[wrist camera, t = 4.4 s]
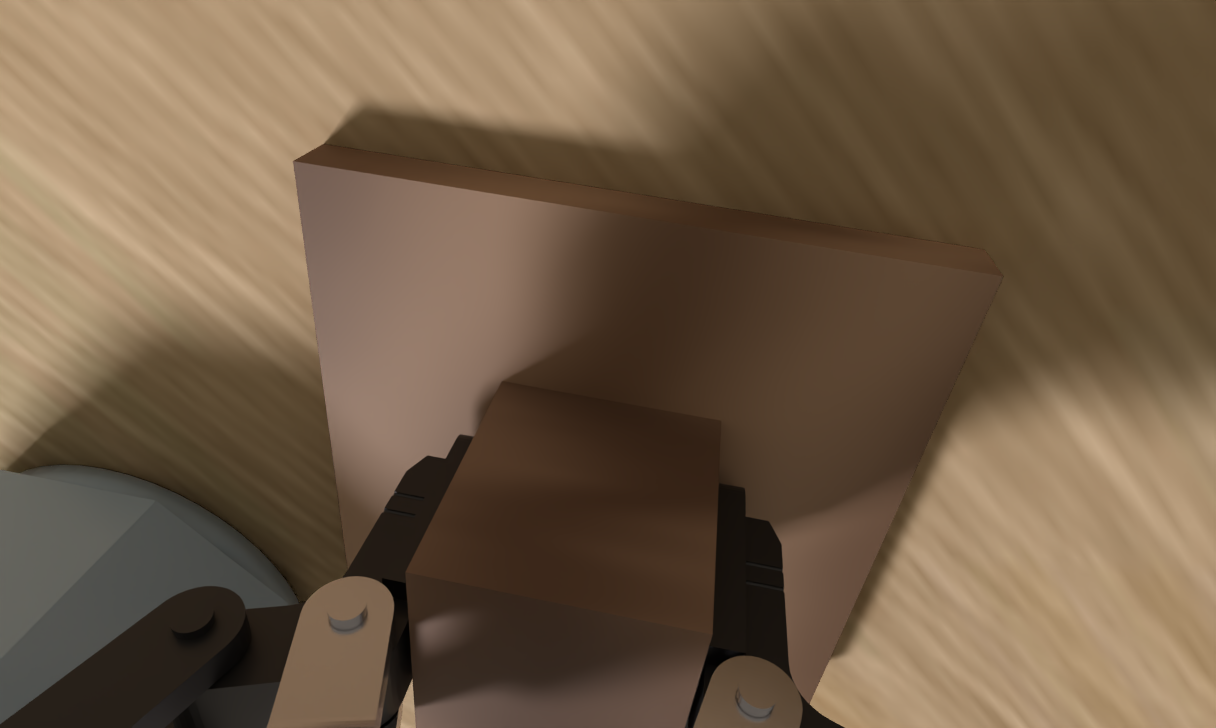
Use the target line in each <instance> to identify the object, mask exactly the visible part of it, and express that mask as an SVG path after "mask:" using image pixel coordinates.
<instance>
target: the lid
mask: <svg viewBox="0 0 1216 728" xmlns="http://www.w3.org/2000/svg"><path fill="white" fill-rule="evenodd" d="M293 164H294V171H295V179H296V186H297V194H298V201H299V209H300V216H301V224H302V231H303V239H304V246H305V254H306V261H307V269H308V276H309V284H310V291H311V299H312V306H313V314H314V321H315V329H316V336H317V344H318V351H319V359H320V366H321V374H322V381H323V389H324V396H325V404H326V411H327V419H328V426H329V434H330V441H331V449H332V456H333V464H334V471H335V478H336V486H337V493H338V501H339V508H340V516H341V523H342V531H343V538H344V546H345V553H346V561H347V568H349V567H350V565H351V563H352V562H353V560H354V558H355V557H356V555H357V553H358V552H359V550H360V548H361V547H362V545H363V543H364V542H365V540H366V538H367V536H368V535H369V533H370V531H371V530H372V528H373V526H374V525H375V523H376V521H377V520H378V518H379V516H380V515H381V513H382V512H384V508H385V506H386V504H387V503H388V501H389V499H390V498H391V496H393V495H394V491H395V489H396V488H397V486H398V484H399V483H400V481H401V479H402V478H403V476H404V474H405V473H406V471H407V470H409V469H410V468H411V467H413V466H414V465H415V464H417V463H418V462H419V461H421V460H422V459H423V458H425V457H426V456H427V455H429V456H434V457H439V458H444V459H446V457H447V455H448V453H449V451H450V449H451V448H452V446H453V444H454V442H455V440H456V438H457V437H458V436H459V435H460V434H463V435H469V436H474V437H473V439H472V441H471V443H470V445H469V447H468V449H467V451H466V453H465V455H464V457H463V459H462V461H461V463H460V465H459V467H458V469H457V471H456V473H455V475H454V477H453V479H452V481H451V483H450V485H449V487H448V489H447V491H446V493H445V495H444V497H443V499H442V501H441V503H440V505H439V507H438V509H437V511H436V513H435V515H434V517H433V519H432V521H431V522H430V524H429V526H428V528H427V530H426V532H425V534H424V536H423V538H422V540H421V542H420V544H419V546H418V548H417V550H416V552H415V554H414V556H413V558H412V560H411V562H410V564H409V566H408V568H407V570H406V572H405V574H406V589H407V603H408V618H409V633H410V647H411V662H412V676H413V691H414V705H415V720H416V728H685V725H686V722H687V718H688V715H689V712H690V708H691V705H692V702H693V698H694V695H695V692H696V688H697V685H698V682H699V678H700V675H701V672H702V668H703V665H704V662H705V658H706V655H707V651H708V648H709V645H710V641H711V638H712V635H713V611H714V587H715V562H716V538H717V513H718V489H719V483H721V484H727V485H732V486H737V487H743V488H745V495H746V517H751V518H756V519H761V520H766V521H769V522H770V524H771V526H772V527H773V529H774V531H775V533H776V535H777V537H778V538H779V540H780V542H781V544H782V559H783V571H782V573H783V575H784V593H785V608H786V624H787V641H788V657H789V668H790V673H791V676H792V679H793V681H794V683H795V685H796V687H797V689H798V691H799V692H800V694H801V695H802V696H803V698H804V699H805V700H806V701H807V702H808V703H809V704H810V701H811V699H812V697H813V695H814V693H815V690H816V688H817V686H818V684H819V682H820V679H821V677H822V675H823V673H824V671H825V668H826V666H827V664H828V662H829V660H830V657H831V655H832V653H833V651H834V649H835V646H836V644H837V642H838V640H839V638H840V635H841V633H842V631H843V629H844V627H845V624H846V622H847V620H848V618H849V615H850V613H851V611H852V609H853V607H854V604H855V602H856V600H857V598H858V596H859V593H860V591H861V589H862V587H863V585H864V582H865V580H866V578H867V576H868V574H869V571H870V569H871V567H872V565H873V563H874V560H875V558H876V556H877V554H878V552H879V549H880V547H881V545H882V543H883V541H884V538H885V536H886V534H887V532H888V530H889V527H890V525H891V523H892V521H893V519H894V516H895V514H896V512H897V510H898V508H899V505H900V503H901V501H902V499H903V497H904V494H905V492H906V490H907V488H908V486H909V483H910V481H911V479H912V477H913V474H914V472H915V470H916V468H917V466H918V463H919V461H920V459H921V457H922V455H923V452H924V450H925V448H926V446H927V444H928V441H929V439H930V437H931V435H932V433H933V430H934V428H935V426H936V424H937V422H938V419H939V417H940V415H941V413H942V411H943V408H944V406H945V404H946V402H947V400H948V397H949V395H950V393H951V391H952V389H953V386H954V384H955V382H956V380H957V378H958V375H959V373H960V371H961V369H962V367H963V364H964V362H965V360H966V358H967V356H968V353H969V351H970V349H971V347H972V345H973V342H974V340H975V338H976V336H977V334H978V331H979V329H980V327H981V325H982V322H983V320H984V318H985V316H986V314H987V311H988V309H989V307H990V305H991V303H992V300H993V298H994V296H995V294H996V292H997V289H998V287H999V285H1000V283H1001V281H1002V278H1003V275H1002V274H1001V272H1000V271H999V269H998V268H997V267H996V265H995V264H994V262H993V261H992V260H991V258H990V257H989V255H988V254H987V252H986V251H985V250H984V249H978V248H972V247H966V246H960V245H953V244H947V243H941V242H935V241H928V240H922V239H916V238H910V237H903V236H897V235H891V234H885V233H878V232H872V231H866V230H859V229H853V228H847V227H841V226H834V225H828V224H822V223H816V222H809V221H803V220H797V219H791V218H784V217H778V216H772V215H766V214H759V213H753V212H747V211H741V210H734V209H728V208H722V207H715V206H709V205H703V204H697V203H690V202H684V201H678V200H672V199H665V198H659V197H653V196H647V195H640V194H634V193H628V192H621V191H615V190H609V189H603V188H596V187H590V186H584V185H578V184H571V183H565V182H559V181H553V180H546V179H540V178H534V177H528V176H521V175H515V174H509V173H502V172H496V171H490V170H484V169H477V168H471V167H465V166H459V165H452V164H446V163H440V162H434V161H427V160H421V159H415V158H408V157H402V156H396V155H390V154H383V153H377V152H371V151H365V150H358V149H352V148H346V147H340V146H333V145H327V144H323V145H321V146H319V147H317V148H316V149H314V150H312V151H310V152H309V153H307V154H305V155H303V156H301V157H300V158H298V159H296V160H294V161H293Z"/></svg>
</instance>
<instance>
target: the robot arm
mask: <svg viewBox="0 0 1216 728" xmlns="http://www.w3.org/2000/svg"><path fill="white" fill-rule="evenodd" d="M473 437H474V436H469V435H463V434H460V435H459V436H458V437H457V438H456V440H455V442H454V444H453V446H452V448H451V449H450V451H449V453H448V455H447V457H446V459H444V458H439V457H434V456H429V455H427V456H426V457H425V458H423V459H422V460H421V461H419V462H418V463H417V464H415V465H414V466H413V467H411V468H410V469H409V470H407V471H406V473H405V474H404V476H403V478H402V479H401V481H400V483H399V484H398V486H397V488H396V489H395V491H394V495H393V496H391V498H390V499H389V501H388V503H387V504H386V506H385V508H384V512H382V513H381V515H380V516H379V518H378V520H377V521H376V523H375V525H374V526H373V528H372V530H371V531H370V533H369V535H368V536H367V538H366V540H365V542H364V543H363V545H362V547H361V548H360V550H359V552H358V553H357V555H356V557H355V558H354V560H353V562H352V563H351V565H350V567H349V568H348V570H347V572H346V573H345V575H344V576H343V578H340V579H337V580H334V581H332V582H330V583H328V584H325V585H324V586H322V587H321V588H319V589H318V590H317V591H316V592H314V593H313V594H312V595H311V596H310V597H309V599H308V600H307V601H306V602H303V603H299V604H294V605H287V606H276V607H264V608H252V609H245V605H244V603H243V600H242V599H241V598H240V596H239V595H238V594H236V593H235V592H234V591H232V590H230V589H227V588H224V587H218V586H203V587H197V588H193V589H189V590H186V591H184V592H181V593H179V594H177V595H175V596H173V597H171V598H169V599H168V600H166V601H165V602H163V603H162V604H161V605H159V606H158V607H157V608H155V609H154V610H152V611H151V612H150V613H148V614H147V615H146V616H144V617H143V618H142V619H140V620H139V621H138V622H136V623H135V624H134V625H132V626H131V627H130V628H128V629H127V630H126V631H124V632H123V633H122V634H120V635H119V636H118V637H116V638H115V639H114V640H112V641H111V642H110V643H108V644H107V645H106V646H104V647H103V648H102V649H100V650H99V651H98V652H96V653H95V654H94V655H92V656H91V657H90V658H88V659H87V660H85V661H84V662H83V663H81V664H80V665H79V666H77V667H76V668H75V669H73V670H72V671H71V672H69V673H68V674H67V675H65V676H64V677H63V678H61V679H60V680H59V681H57V682H56V683H55V684H53V685H52V686H51V687H49V688H48V689H47V690H45V691H44V692H43V693H41V694H40V695H39V696H37V697H36V698H35V699H33V700H32V701H31V702H29V703H28V704H27V705H25V706H24V707H23V708H21V709H20V710H18V711H17V712H16V713H14V714H13V715H12V716H10V717H9V718H8V719H6V720H5V721H4V722H2V723H1V724H0V728H400V725H401V718H402V708H403V704H402V701H403V699H404V697H405V694H406V692H407V690H408V687H409V685H410V683H411V680H412V678H413V676H412V662H411V647H410V633H409V618H408V603H407V589H406V574H405V572H406V570H407V568H408V566H409V564H410V562H411V560H412V558H413V556H414V554H415V552H416V550H417V548H418V546H419V544H420V542H421V540H422V538H423V536H424V534H425V532H426V530H427V528H428V526H429V524H430V522H431V521H432V519H433V517H434V515H435V513H436V511H437V509H438V507H439V505H440V503H441V501H442V499H443V497H444V495H445V493H446V491H447V489H448V487H449V485H450V483H451V481H452V479H453V477H454V475H455V473H456V471H457V469H458V467H459V465H460V463H461V461H462V459H463V457H464V455H465V453H466V451H467V449H468V447H469V445H470V443H471V441H472V439H473ZM782 571H783V559H782V544H781V542H780V540H779V538H778V537H777V535H776V533H775V531H774V529H773V527H772V526H771V524H770V522H769V521H766V520H761V519H756V518H751V517H746V495H745V488H743V487H737V486H732V485H727V484H721V483H719V489H718V513H717V538H716V562H715V587H714V611H713V635H712V638H711V641H710V645H709V648H708V651H707V655H706V658H705V662H704V665H703V668H702V672H701V675H700V678H699V682H698V685H697V688H696V692H695V695H694V698H693V702H692V705H691V708H690V712H689V715H688V718H687V722H686V725H685V728H844V727H842V726H841V725H839V724H837V723H835V722H833V721H831V720H829V719H828V718H826V717H824V716H823V715H821V714H820V713H819V712H818V711H816V710H815V709H814V708H813V707H812V706H811V705H810V704H809V703H808V702H807V701H806V700H805V699H804V698H803V696H802V695H801V694H800V692H799V691H798V689H797V687H796V685H795V683H794V681H793V679H792V676H791V673H790V668H789V657H788V641H787V624H786V608H785V593H784V575H783V573H782Z"/></svg>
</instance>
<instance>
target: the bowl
mask: <svg viewBox="0 0 1216 728" xmlns="http://www.w3.org/2000/svg"><path fill="white" fill-rule="evenodd" d="M203 586H218V587H224V588H227V589H230V590H232V591H234V592H235V593H236V594H238V595H239V596H240V598H241V599H242V600H243V603H244V605H245V609H252V608H264V607H276V606H287V605H294V604H299V602H298V600H297V598H296V596H295V594H294V592H293V591H292V589H291V588H290V586H289V585H288V583H287V581H286V580H285V579H284V577H283V576H282V575H281V574H280V572H279V571H278V570H277V569H276V567H275V566H274V565H273V564H272V563H271V562H270V561H269V560H268V559H267V558H266V557H265V556H264V554H263V553H262V552H261V551H260V550H259V549H258V548H257V547H255V546H254V545H253V544H252V543H251V542H250V541H248V540H247V539H246V538H245V537H244V536H243V535H242V534H240V533H239V532H238V531H236V530H235V529H234V528H232V527H231V526H230V525H228V524H227V523H226V522H224V521H223V520H221V519H220V518H218V517H217V516H215V515H214V514H212V513H210V512H209V511H207V510H206V509H204V508H202V507H201V506H199V505H197V504H196V503H194V502H192V501H190V500H188V499H186V498H184V497H182V496H180V495H178V494H176V493H174V492H172V491H170V490H167V489H165V488H163V487H160V486H158V485H156V484H153V483H151V482H148V481H145V480H142V479H139V478H136V477H133V476H130V475H127V474H123V473H119V472H115V471H111V470H107V469H102V468H95V467H88V466H81V465H52V466H41V467H37V468H33V469H29V470H25V471H23V472H21V473H15V472H10V471H5V470H0V724H1V723H2V722H4V721H5V720H6V719H8V718H9V717H10V716H12V715H13V714H14V713H16V712H17V711H18V710H20V709H21V708H23V707H24V706H25V705H27V704H28V703H29V702H31V701H32V700H33V699H35V698H36V697H37V696H39V695H40V694H41V693H43V692H44V691H45V690H47V689H48V688H49V687H51V686H52V685H53V684H55V683H56V682H57V681H59V680H60V679H61V678H63V677H64V676H65V675H67V674H68V673H69V672H71V671H72V670H73V669H75V668H76V667H77V666H79V665H80V664H81V663H83V662H84V661H85V660H87V659H88V658H90V657H91V656H92V655H94V654H95V653H96V652H98V651H99V650H100V649H102V648H103V647H104V646H106V645H107V644H108V643H110V642H111V641H112V640H114V639H115V638H116V637H118V636H119V635H120V634H122V633H123V632H124V631H126V630H127V629H128V628H130V627H131V626H132V625H134V624H135V623H136V622H138V621H139V620H140V619H142V618H143V617H144V616H146V615H147V614H148V613H150V612H151V611H152V610H154V609H155V608H157V607H158V606H159V605H161V604H162V603H163V602H165V601H166V600H168V599H169V598H171V597H173V596H175V595H177V594H179V593H181V592H184V591H186V590H189V589H193V588H197V587H203Z"/></svg>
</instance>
